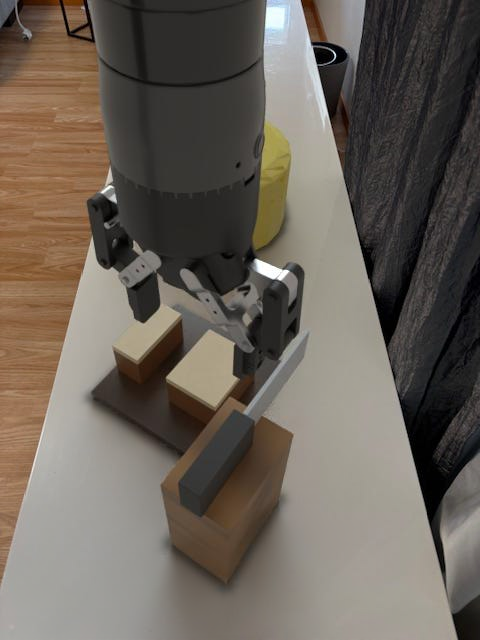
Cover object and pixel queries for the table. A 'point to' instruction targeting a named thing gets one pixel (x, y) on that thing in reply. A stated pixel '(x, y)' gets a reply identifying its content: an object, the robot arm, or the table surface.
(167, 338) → the slice
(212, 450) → the knife
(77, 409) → the table surface
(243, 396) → the board
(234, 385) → the cream-faced brown block
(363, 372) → the table surface
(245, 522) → the stand
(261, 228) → the cheese
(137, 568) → the table surface
